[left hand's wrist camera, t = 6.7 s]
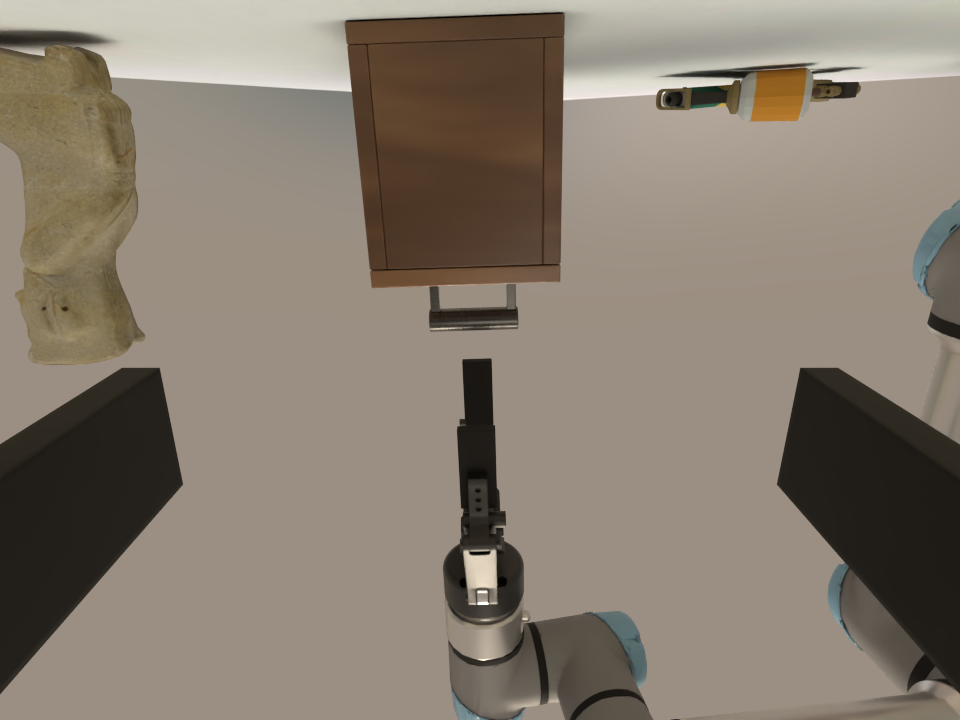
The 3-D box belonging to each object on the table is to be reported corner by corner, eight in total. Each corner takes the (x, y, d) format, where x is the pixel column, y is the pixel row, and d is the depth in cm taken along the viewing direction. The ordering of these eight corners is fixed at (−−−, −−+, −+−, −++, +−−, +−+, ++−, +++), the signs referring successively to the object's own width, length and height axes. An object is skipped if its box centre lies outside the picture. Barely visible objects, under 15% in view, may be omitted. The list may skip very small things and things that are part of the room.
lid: (530, 215, 46) (530, 318, 49) (411, 219, 46) (418, 322, 49) (560, 264, 29) (558, 419, 32) (369, 271, 29) (385, 424, 32)
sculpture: (-120, 34, 23) (3, 383, 29) (77, 32, 24) (159, 369, 30) (-27, 54, 29) (61, 344, 34) (131, 52, 30) (193, 334, 35)
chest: (530, 61, 41) (531, 216, 45) (398, 66, 41) (409, 220, 45) (564, 13, 25) (560, 264, 29) (344, 21, 25) (369, 270, 29)
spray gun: (871, 64, 57) (718, 72, 67) (823, 66, 46) (648, 76, 56) (861, 111, 59) (714, 113, 69) (813, 124, 48) (645, 124, 58)
